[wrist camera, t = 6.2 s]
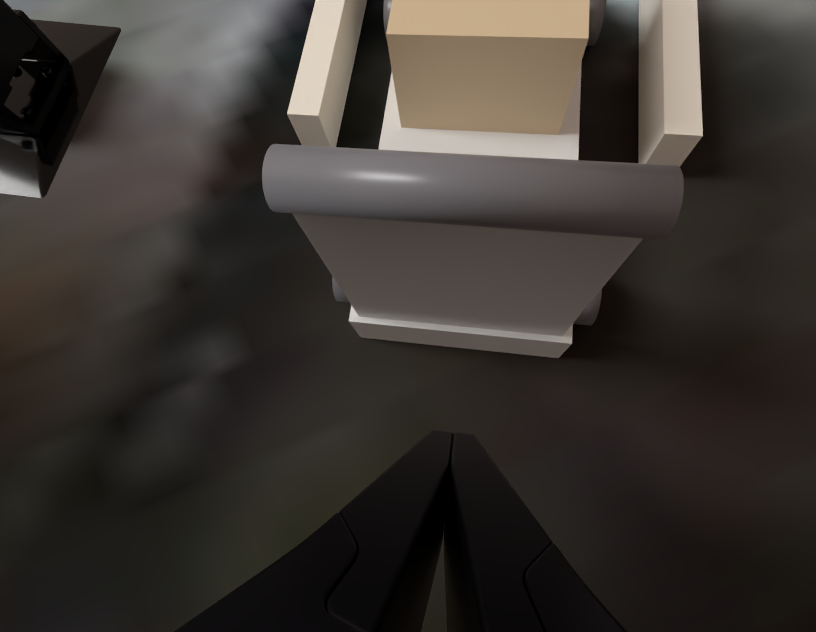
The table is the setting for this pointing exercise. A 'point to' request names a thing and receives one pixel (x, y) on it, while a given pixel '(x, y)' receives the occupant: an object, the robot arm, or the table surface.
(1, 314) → the table surface
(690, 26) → the bay
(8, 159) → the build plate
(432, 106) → the trolley
